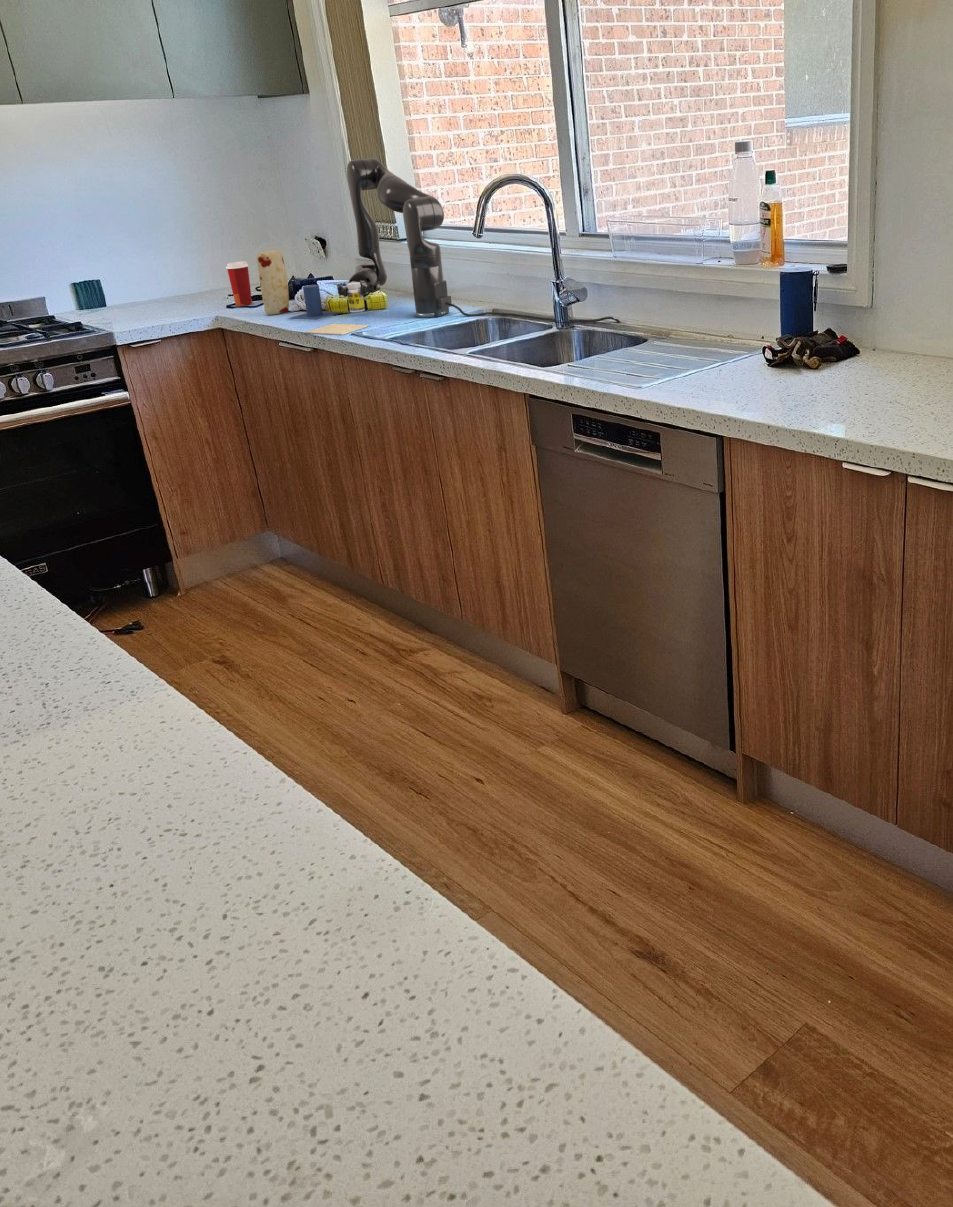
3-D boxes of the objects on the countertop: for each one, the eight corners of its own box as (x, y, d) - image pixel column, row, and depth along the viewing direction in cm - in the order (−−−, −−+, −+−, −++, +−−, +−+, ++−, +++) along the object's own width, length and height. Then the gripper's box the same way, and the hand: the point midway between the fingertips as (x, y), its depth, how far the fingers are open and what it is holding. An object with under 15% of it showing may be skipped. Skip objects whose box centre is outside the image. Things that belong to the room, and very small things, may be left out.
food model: (271, 317, 344) (261, 252, 336) (260, 316, 349) (249, 252, 340) (296, 311, 350) (286, 248, 342) (284, 310, 355) (274, 247, 346)
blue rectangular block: (326, 313, 340) (322, 284, 336) (315, 317, 336) (311, 287, 333) (314, 313, 343) (310, 284, 339) (303, 316, 339) (299, 287, 335)
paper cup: (258, 301, 376) (251, 260, 370) (250, 306, 369) (243, 264, 363) (237, 303, 377) (229, 262, 371) (229, 307, 371) (221, 265, 365)
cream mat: (368, 326, 316) (368, 325, 316) (342, 335, 308) (341, 333, 307) (332, 324, 324) (332, 323, 324) (305, 333, 315) (305, 332, 315)
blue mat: (341, 312, 341) (341, 312, 341) (316, 320, 332) (316, 319, 332) (313, 311, 347) (313, 310, 347) (288, 319, 339) (288, 318, 338)
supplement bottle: (347, 313, 330) (343, 285, 327) (353, 309, 334) (349, 282, 331) (361, 312, 329) (357, 284, 325) (367, 309, 333) (363, 281, 329)
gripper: (338, 273, 341) (328, 282, 326) (383, 269, 340) (374, 278, 324) (342, 297, 344) (332, 307, 329) (386, 293, 343) (378, 303, 328)
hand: (353, 292), depth 327 cm, fingers closed on supplement bottle, 4 cm apart
